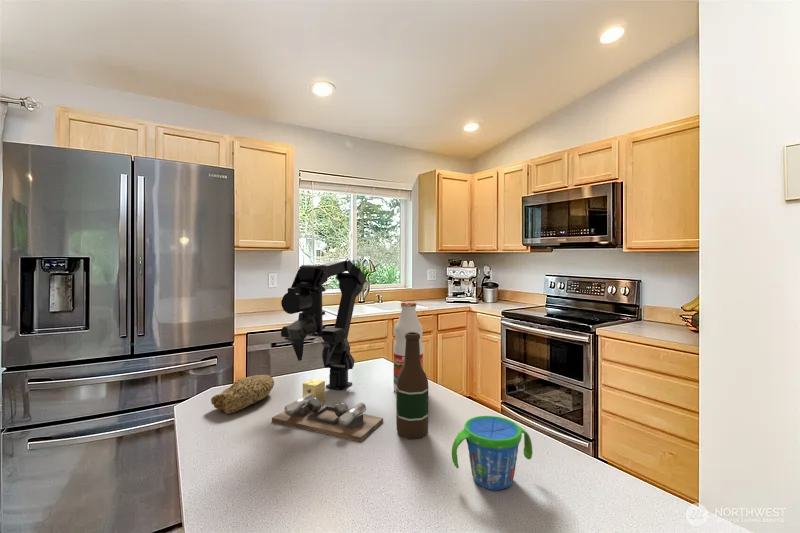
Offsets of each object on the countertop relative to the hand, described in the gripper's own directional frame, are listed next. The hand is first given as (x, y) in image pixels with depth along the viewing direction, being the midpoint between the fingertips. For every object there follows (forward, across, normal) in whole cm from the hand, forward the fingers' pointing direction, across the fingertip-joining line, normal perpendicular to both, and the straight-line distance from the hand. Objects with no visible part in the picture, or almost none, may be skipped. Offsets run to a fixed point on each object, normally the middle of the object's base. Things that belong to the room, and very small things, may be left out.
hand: (312, 362), depth 109 cm
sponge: (+12, -18, -7) cm, 23 cm away
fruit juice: (+12, +21, +21) cm, 32 cm away
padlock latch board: (+12, +11, -9) cm, 18 cm away
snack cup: (+12, +54, -18) cm, 58 cm away
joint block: (+12, 0, 0) cm, 12 cm away
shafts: (+10, +11, -10) cm, 18 cm away
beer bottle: (+12, +33, -6) cm, 36 cm away
